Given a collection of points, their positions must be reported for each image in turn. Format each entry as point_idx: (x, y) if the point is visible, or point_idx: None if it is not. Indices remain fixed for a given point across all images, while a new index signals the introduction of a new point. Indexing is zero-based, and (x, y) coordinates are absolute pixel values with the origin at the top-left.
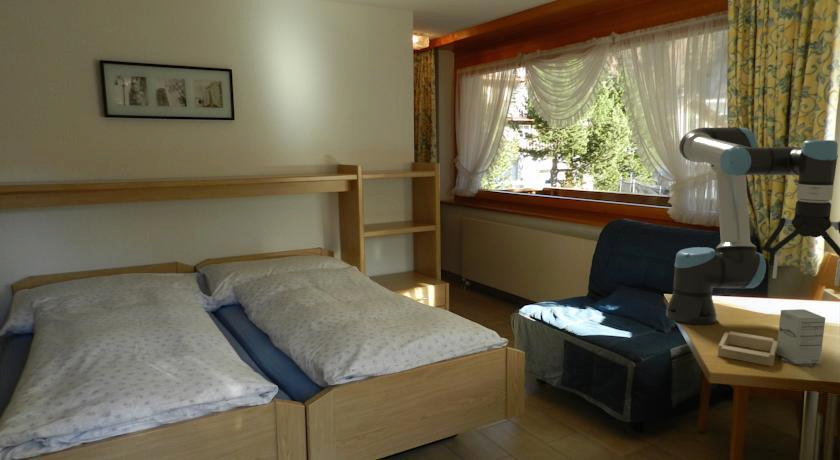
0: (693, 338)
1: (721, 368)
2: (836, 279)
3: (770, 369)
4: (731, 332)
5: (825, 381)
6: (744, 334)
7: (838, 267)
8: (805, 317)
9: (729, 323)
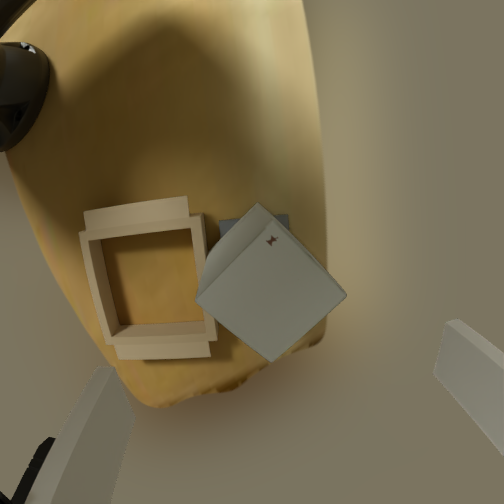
0: (42, 248)
1: (149, 390)
2: (453, 394)
3: (218, 347)
4: (89, 221)
5: (315, 342)
6: (117, 215)
7: (495, 436)
8: (286, 345)
9: (75, 61)
